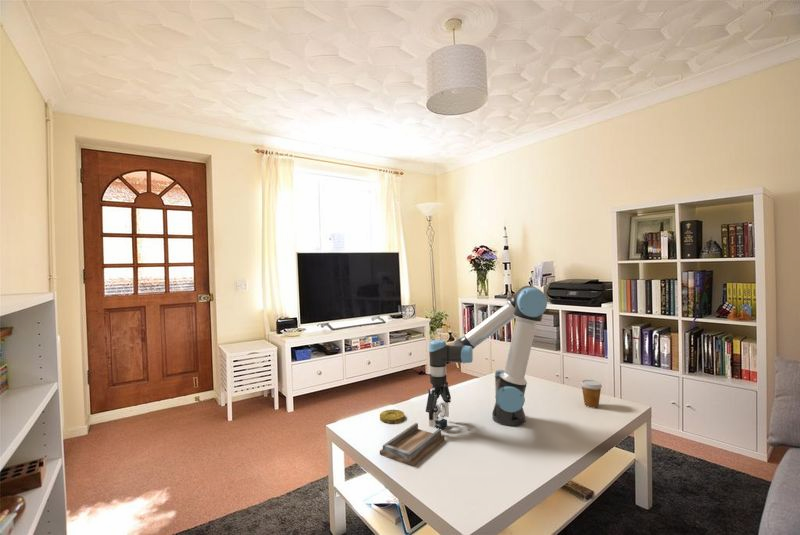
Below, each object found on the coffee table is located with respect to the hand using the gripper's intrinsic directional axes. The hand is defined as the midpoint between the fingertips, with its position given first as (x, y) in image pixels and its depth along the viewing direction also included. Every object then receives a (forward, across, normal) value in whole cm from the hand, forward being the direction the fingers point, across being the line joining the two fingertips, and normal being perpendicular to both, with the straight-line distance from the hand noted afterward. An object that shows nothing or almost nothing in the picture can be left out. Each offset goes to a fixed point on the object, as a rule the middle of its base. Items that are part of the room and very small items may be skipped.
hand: (439, 421), depth 172 cm
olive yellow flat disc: (+3, +4, -24) cm, 25 cm away
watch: (+3, 0, 0) cm, 3 cm away
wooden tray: (+2, +22, 0) cm, 22 cm away
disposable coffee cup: (+2, -61, +54) cm, 82 cm away
